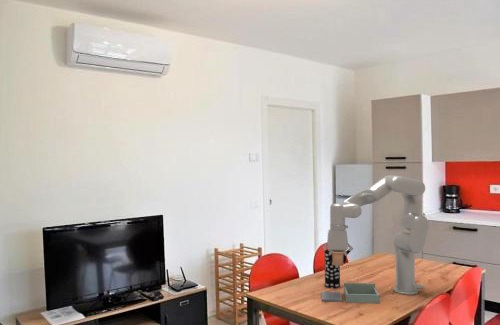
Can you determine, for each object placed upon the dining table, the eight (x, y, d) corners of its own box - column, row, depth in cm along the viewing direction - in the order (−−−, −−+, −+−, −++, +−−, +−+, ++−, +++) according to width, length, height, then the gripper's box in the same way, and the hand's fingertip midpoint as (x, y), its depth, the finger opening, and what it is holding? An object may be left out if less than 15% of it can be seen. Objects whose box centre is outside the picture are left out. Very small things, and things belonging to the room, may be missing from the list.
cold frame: (375, 294, 215) (374, 283, 215) (379, 303, 202) (379, 291, 202) (343, 294, 217) (343, 282, 217) (346, 302, 204) (346, 290, 204)
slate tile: (340, 294, 217) (340, 292, 217) (342, 301, 205) (342, 299, 205) (320, 293, 218) (320, 291, 218) (322, 301, 206) (321, 299, 206)
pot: (343, 263, 214) (343, 249, 214) (345, 266, 207) (345, 252, 207) (330, 262, 215) (330, 249, 215) (331, 265, 208) (331, 252, 208)
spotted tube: (340, 284, 233) (339, 249, 233) (339, 289, 225) (339, 252, 225) (325, 283, 236) (325, 248, 236) (324, 288, 228) (323, 252, 228)
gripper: (353, 226, 214) (353, 261, 213) (320, 226, 216) (320, 260, 215) (355, 229, 206) (355, 265, 206) (321, 228, 208) (321, 264, 208)
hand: (337, 262), depth 211 cm, fingers closed on pot, 6 cm apart
